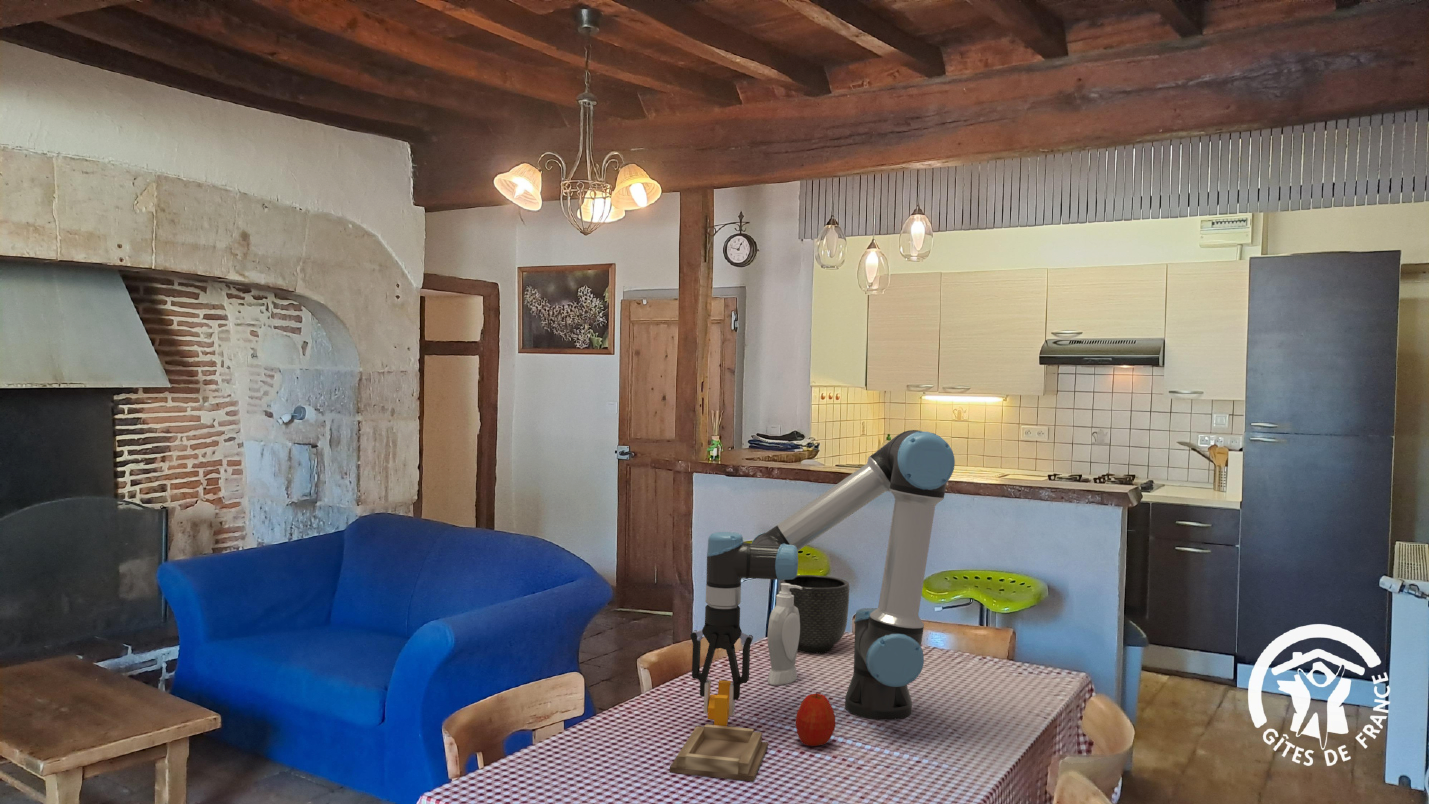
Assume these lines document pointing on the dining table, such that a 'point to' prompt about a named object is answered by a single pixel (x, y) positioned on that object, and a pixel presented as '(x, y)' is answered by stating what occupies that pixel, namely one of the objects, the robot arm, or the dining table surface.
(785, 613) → the soap bottle
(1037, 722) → the dining table surface
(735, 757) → the tray
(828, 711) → the apple
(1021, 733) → the dining table surface
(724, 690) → the orange stepped block
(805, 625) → the planter
